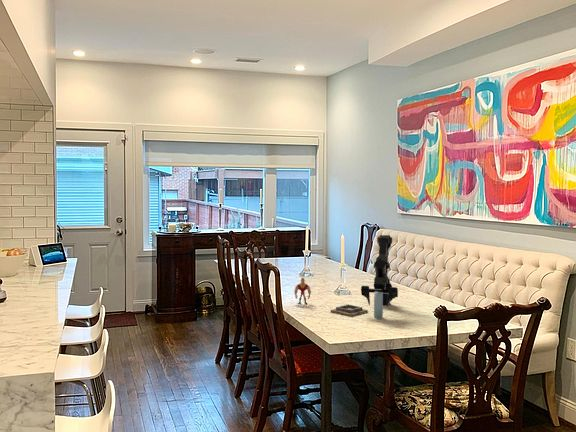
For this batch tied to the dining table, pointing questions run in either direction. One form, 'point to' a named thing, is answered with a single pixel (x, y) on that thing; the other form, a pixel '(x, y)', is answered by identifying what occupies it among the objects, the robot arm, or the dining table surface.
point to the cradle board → (349, 310)
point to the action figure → (302, 290)
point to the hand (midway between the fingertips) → (378, 305)
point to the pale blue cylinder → (378, 304)
